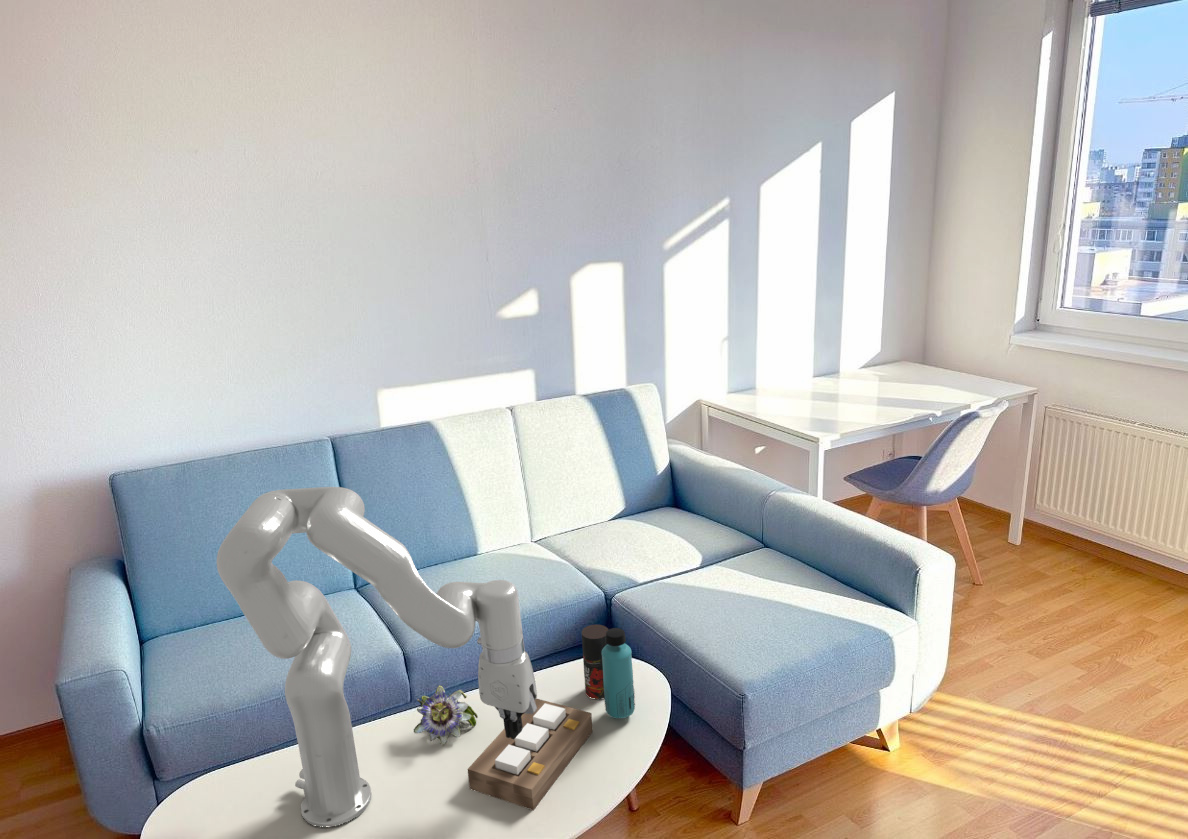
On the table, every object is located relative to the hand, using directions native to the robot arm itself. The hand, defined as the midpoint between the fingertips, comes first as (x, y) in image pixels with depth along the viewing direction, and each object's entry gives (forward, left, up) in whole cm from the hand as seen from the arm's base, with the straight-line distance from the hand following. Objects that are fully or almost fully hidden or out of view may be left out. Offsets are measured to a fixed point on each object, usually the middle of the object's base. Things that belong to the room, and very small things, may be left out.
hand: (514, 733), depth 156 cm
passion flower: (-22, +7, -11) cm, 26 cm away
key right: (-1, +14, -7) cm, 15 cm away
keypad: (-1, +7, -11) cm, 13 cm away
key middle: (-1, +7, -7) cm, 9 cm away
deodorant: (+1, +32, -11) cm, 34 cm away
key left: (-1, 0, -6) cm, 7 cm away
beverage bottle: (+9, +26, -11) cm, 29 cm away
